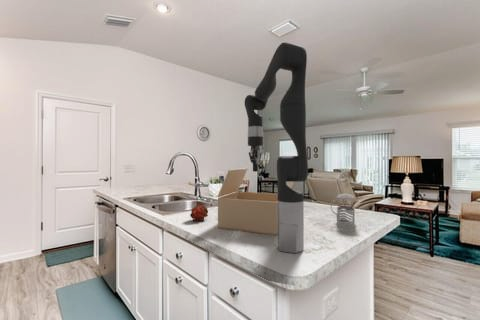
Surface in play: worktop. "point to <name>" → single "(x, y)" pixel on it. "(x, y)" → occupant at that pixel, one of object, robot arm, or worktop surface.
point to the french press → (343, 221)
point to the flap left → (232, 181)
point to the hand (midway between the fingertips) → (255, 171)
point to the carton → (249, 212)
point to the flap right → (289, 184)
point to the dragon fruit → (199, 213)
